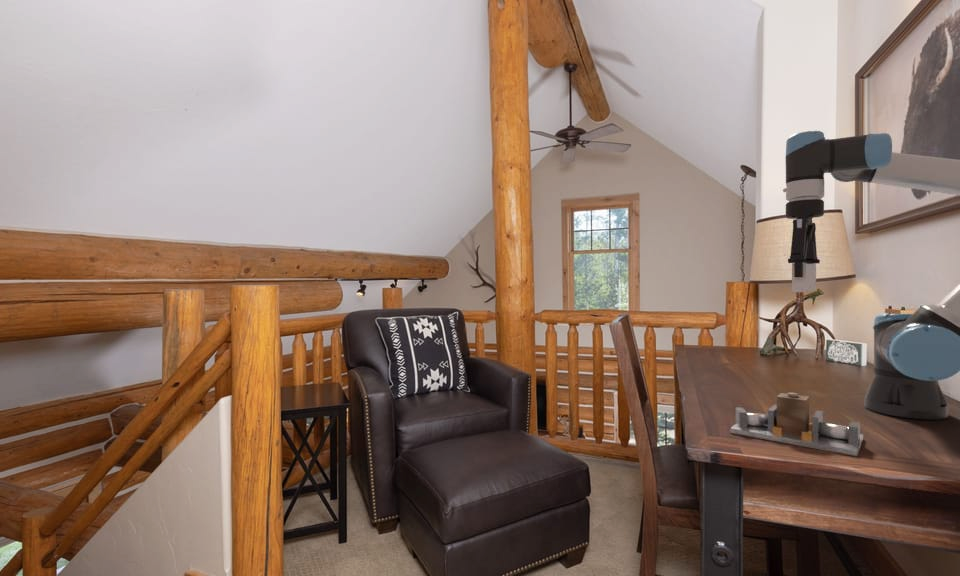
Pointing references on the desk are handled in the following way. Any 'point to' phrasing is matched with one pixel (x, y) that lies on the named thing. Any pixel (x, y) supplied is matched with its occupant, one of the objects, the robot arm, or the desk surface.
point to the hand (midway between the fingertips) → (804, 291)
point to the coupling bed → (809, 434)
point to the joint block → (793, 412)
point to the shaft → (750, 419)
